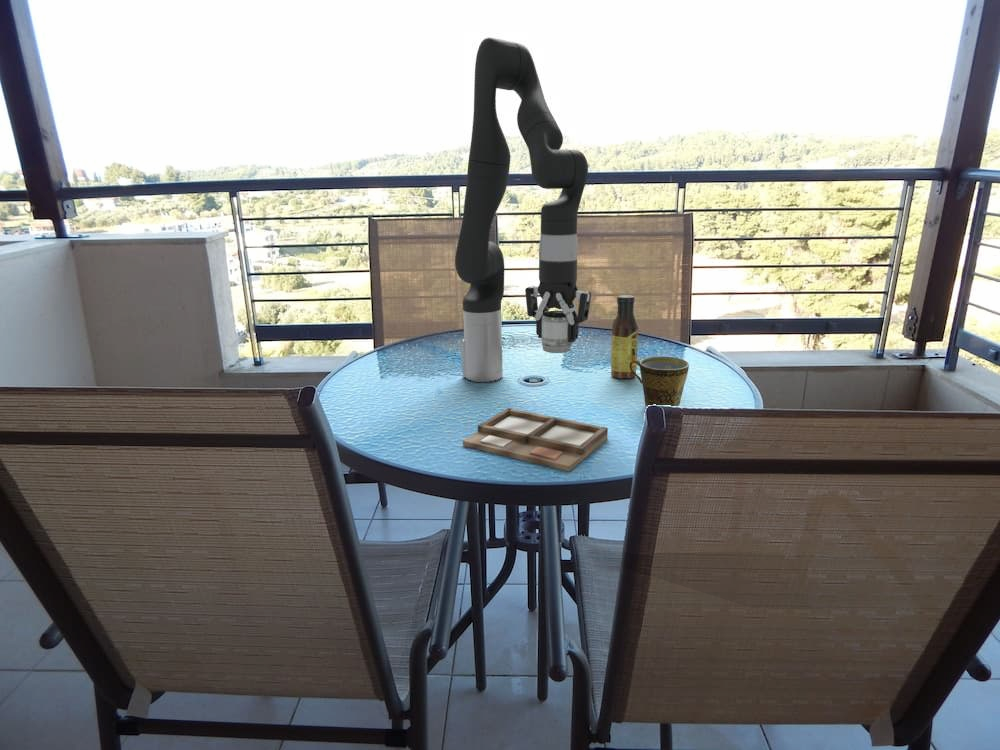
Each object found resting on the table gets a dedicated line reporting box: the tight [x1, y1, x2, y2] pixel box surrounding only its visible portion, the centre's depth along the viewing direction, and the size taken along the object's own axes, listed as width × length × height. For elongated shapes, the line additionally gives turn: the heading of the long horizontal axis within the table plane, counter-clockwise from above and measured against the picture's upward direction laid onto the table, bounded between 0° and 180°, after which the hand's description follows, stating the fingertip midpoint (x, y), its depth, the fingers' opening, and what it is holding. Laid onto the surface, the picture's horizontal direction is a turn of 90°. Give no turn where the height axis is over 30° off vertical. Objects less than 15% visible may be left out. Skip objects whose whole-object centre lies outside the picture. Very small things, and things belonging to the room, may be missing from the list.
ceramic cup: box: [630, 355, 690, 407], centre depth 132 cm, size 13×10×10 cm
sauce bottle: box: [610, 294, 639, 380], centre depth 151 cm, size 7×6×20 cm
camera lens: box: [541, 309, 573, 354], centre depth 127 cm, size 6×6×8 cm
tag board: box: [462, 407, 609, 473], centre depth 117 cm, size 22×16×2 cm
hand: (556, 339), depth 128 cm, fingers closed on camera lens, 6 cm apart
